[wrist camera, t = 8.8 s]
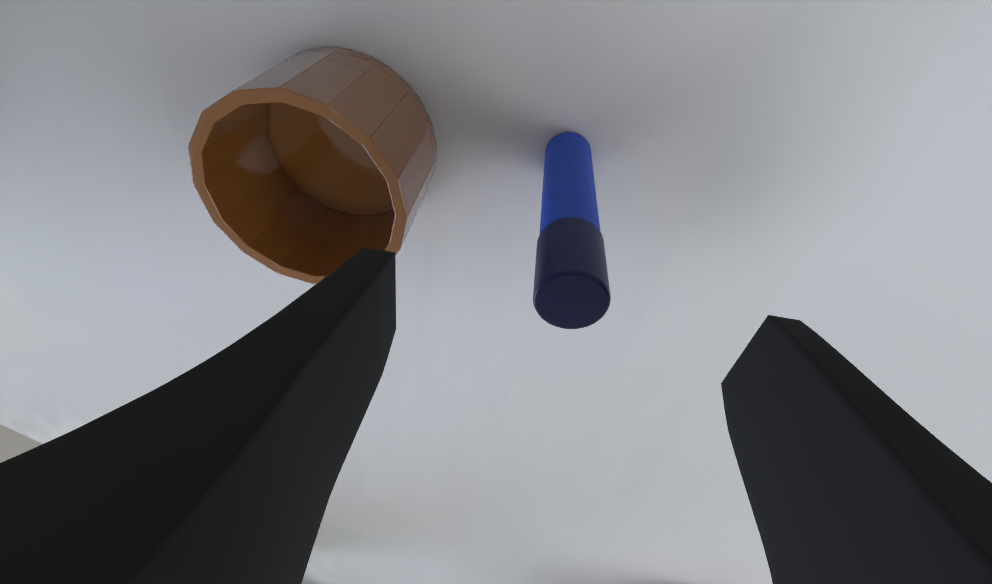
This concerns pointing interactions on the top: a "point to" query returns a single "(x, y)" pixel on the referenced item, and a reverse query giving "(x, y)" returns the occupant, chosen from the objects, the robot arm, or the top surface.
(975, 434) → the top surface
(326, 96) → the brown wooden bowl
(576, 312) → the marker
